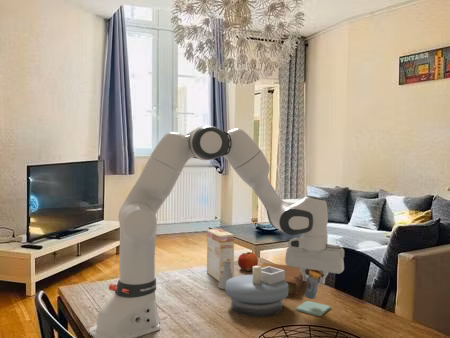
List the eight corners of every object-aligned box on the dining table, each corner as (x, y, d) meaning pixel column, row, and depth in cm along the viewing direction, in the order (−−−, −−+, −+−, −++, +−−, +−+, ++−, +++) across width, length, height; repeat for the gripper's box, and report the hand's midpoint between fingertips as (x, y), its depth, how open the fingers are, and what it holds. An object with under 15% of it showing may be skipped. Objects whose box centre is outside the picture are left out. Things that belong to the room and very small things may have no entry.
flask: (234, 290, 173) (234, 265, 173) (216, 289, 175) (216, 264, 174) (237, 285, 180) (237, 261, 180) (219, 283, 182) (220, 259, 181)
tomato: (260, 271, 199) (261, 254, 199) (241, 273, 197) (241, 255, 196) (253, 266, 208) (254, 249, 208) (235, 267, 206) (235, 250, 205)
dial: (258, 308, 140) (258, 280, 140) (212, 291, 156) (212, 266, 156) (301, 292, 155) (301, 267, 155) (255, 278, 171) (255, 255, 171)
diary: (296, 297, 168) (296, 282, 167) (249, 292, 174) (249, 277, 173) (306, 279, 189) (306, 266, 189) (263, 275, 195) (263, 262, 195)
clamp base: (265, 321, 144) (265, 306, 143) (220, 308, 154) (221, 294, 154) (291, 305, 158) (291, 291, 158) (249, 294, 169) (249, 281, 168)
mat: (319, 316, 148) (319, 314, 148) (295, 310, 153) (295, 307, 153) (330, 308, 155) (330, 306, 155) (307, 302, 160) (307, 300, 160)
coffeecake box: (234, 280, 186) (234, 234, 185) (218, 282, 184) (219, 235, 183) (221, 270, 200) (221, 228, 199) (206, 272, 198) (206, 229, 196)
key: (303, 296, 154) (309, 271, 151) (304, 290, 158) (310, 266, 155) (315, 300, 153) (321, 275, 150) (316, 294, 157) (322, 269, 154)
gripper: (346, 244, 150) (346, 284, 151) (290, 237, 161) (289, 275, 161) (341, 248, 145) (341, 289, 146) (283, 241, 155) (283, 279, 156)
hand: (313, 281), depth 154 cm, fingers closed on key, 4 cm apart
